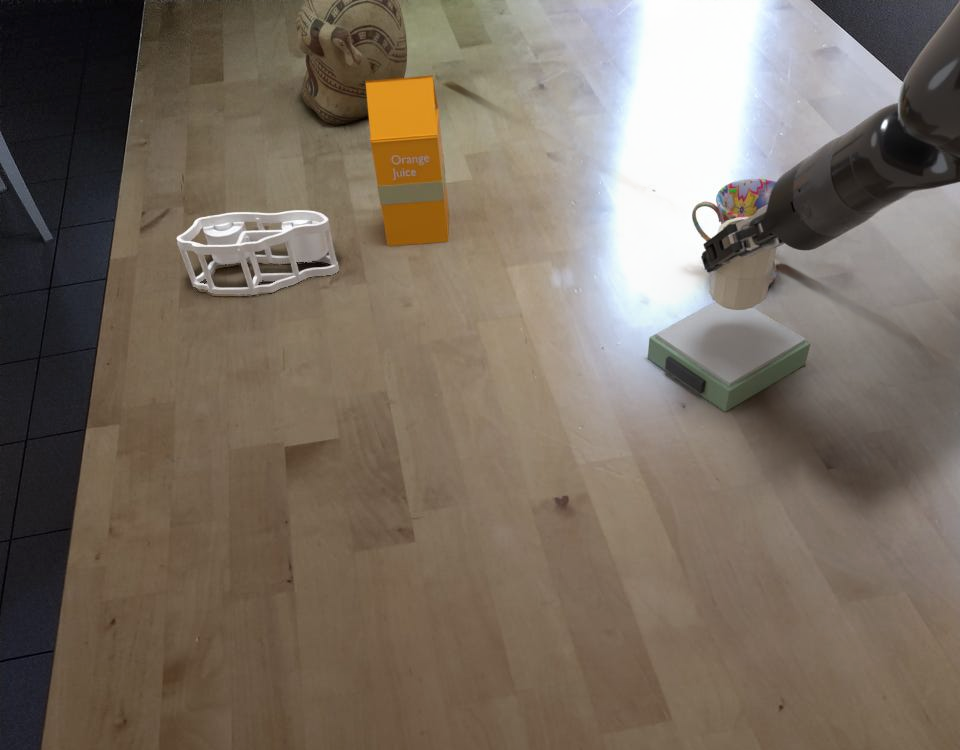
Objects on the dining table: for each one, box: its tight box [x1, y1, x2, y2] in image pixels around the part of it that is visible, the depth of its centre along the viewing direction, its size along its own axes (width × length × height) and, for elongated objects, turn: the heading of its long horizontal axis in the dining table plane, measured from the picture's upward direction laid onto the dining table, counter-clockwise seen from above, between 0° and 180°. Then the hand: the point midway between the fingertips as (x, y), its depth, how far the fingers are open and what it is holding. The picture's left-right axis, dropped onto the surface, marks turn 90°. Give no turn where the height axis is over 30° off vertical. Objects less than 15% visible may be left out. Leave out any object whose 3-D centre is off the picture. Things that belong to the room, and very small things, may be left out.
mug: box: [691, 178, 778, 286], centre depth 112 cm, size 12×9×11 cm
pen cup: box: [708, 217, 778, 310], centre depth 97 cm, size 6×6×8 cm
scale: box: [647, 301, 812, 413], centre depth 105 cm, size 14×13×4 cm
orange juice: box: [365, 75, 450, 247], centre depth 121 cm, size 8×9×20 cm
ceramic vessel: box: [295, 0, 408, 126], centre depth 142 cm, size 19×21×30 cm
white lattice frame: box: [176, 209, 340, 295], centre depth 122 cm, size 20×11×7 cm, turn 85°
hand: (734, 253), depth 97 cm, fingers closed on pen cup, 6 cm apart
